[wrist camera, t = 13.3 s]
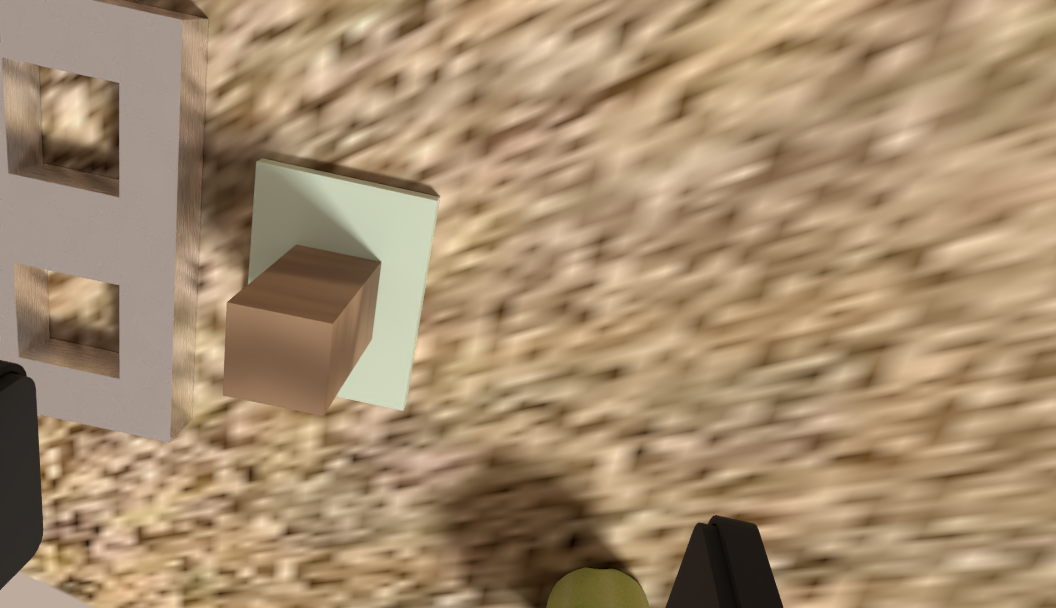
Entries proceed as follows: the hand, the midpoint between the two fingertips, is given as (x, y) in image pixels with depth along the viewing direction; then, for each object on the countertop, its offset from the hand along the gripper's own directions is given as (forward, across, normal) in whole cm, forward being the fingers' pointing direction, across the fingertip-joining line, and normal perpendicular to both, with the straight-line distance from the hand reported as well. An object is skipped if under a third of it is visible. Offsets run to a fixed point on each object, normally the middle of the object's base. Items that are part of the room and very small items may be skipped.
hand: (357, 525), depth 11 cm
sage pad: (+28, +8, +9) cm, 31 cm away
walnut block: (+27, +8, +9) cm, 30 cm away
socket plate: (+28, +21, +8) cm, 36 cm away
